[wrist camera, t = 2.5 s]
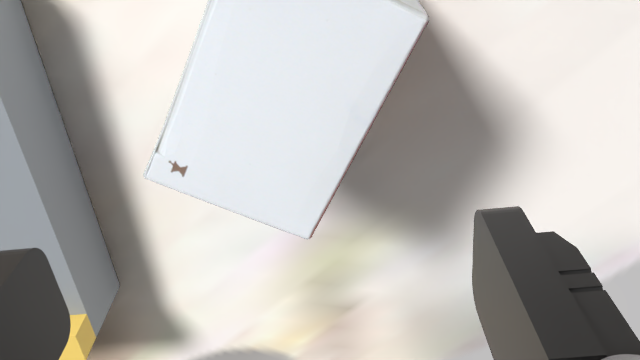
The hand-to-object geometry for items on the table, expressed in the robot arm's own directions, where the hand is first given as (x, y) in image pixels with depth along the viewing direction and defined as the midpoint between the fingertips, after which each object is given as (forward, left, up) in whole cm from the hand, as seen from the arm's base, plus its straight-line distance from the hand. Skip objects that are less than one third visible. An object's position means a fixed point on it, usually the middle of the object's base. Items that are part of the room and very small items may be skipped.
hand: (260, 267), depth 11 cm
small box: (-1, 0, -17) cm, 17 cm away
